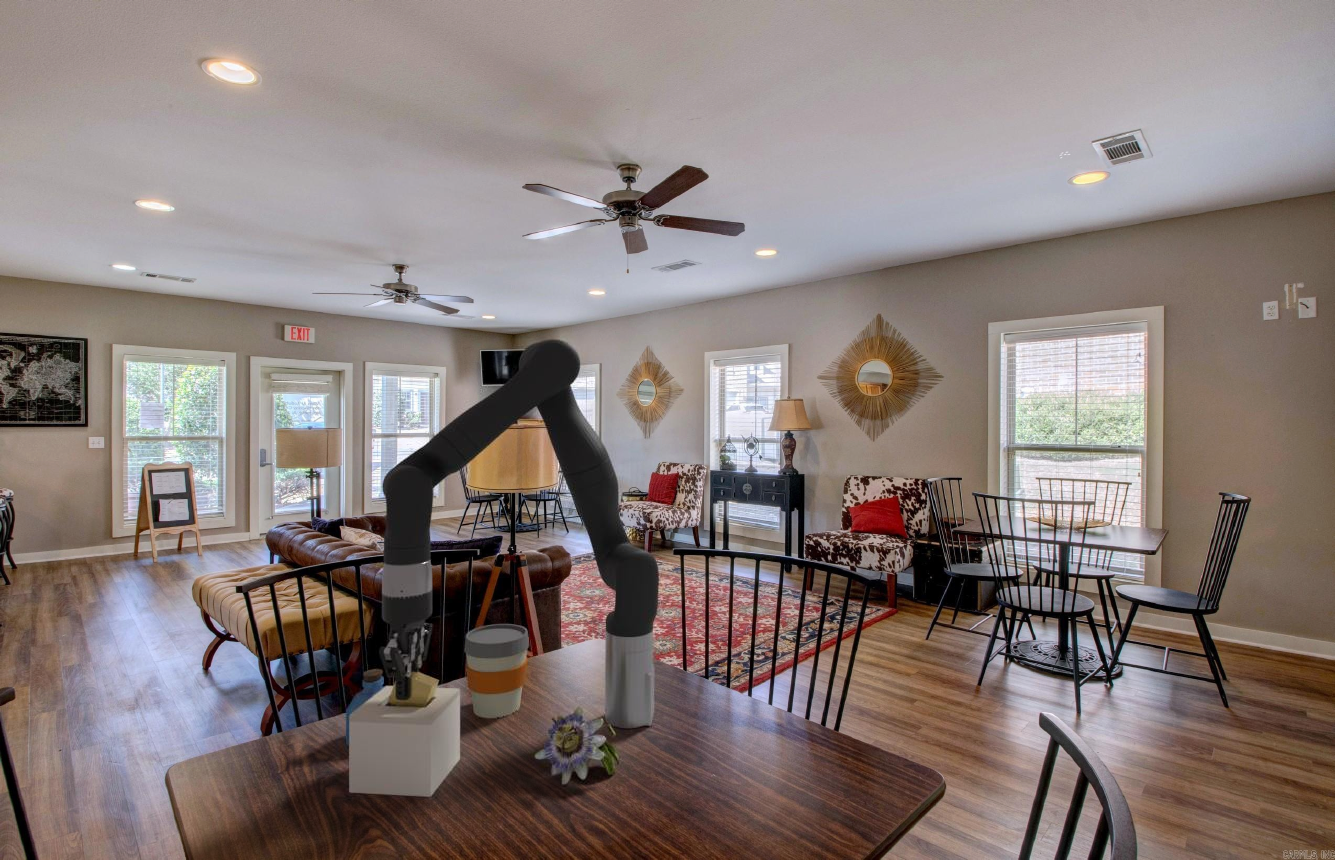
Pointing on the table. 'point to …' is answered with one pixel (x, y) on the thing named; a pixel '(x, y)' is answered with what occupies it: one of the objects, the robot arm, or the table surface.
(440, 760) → the tissue box
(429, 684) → the tan wooden block
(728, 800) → the table surface
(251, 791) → the table surface
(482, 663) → the reusable coffee cup
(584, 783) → the table surface
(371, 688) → the perfume bottle
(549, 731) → the passion flower
